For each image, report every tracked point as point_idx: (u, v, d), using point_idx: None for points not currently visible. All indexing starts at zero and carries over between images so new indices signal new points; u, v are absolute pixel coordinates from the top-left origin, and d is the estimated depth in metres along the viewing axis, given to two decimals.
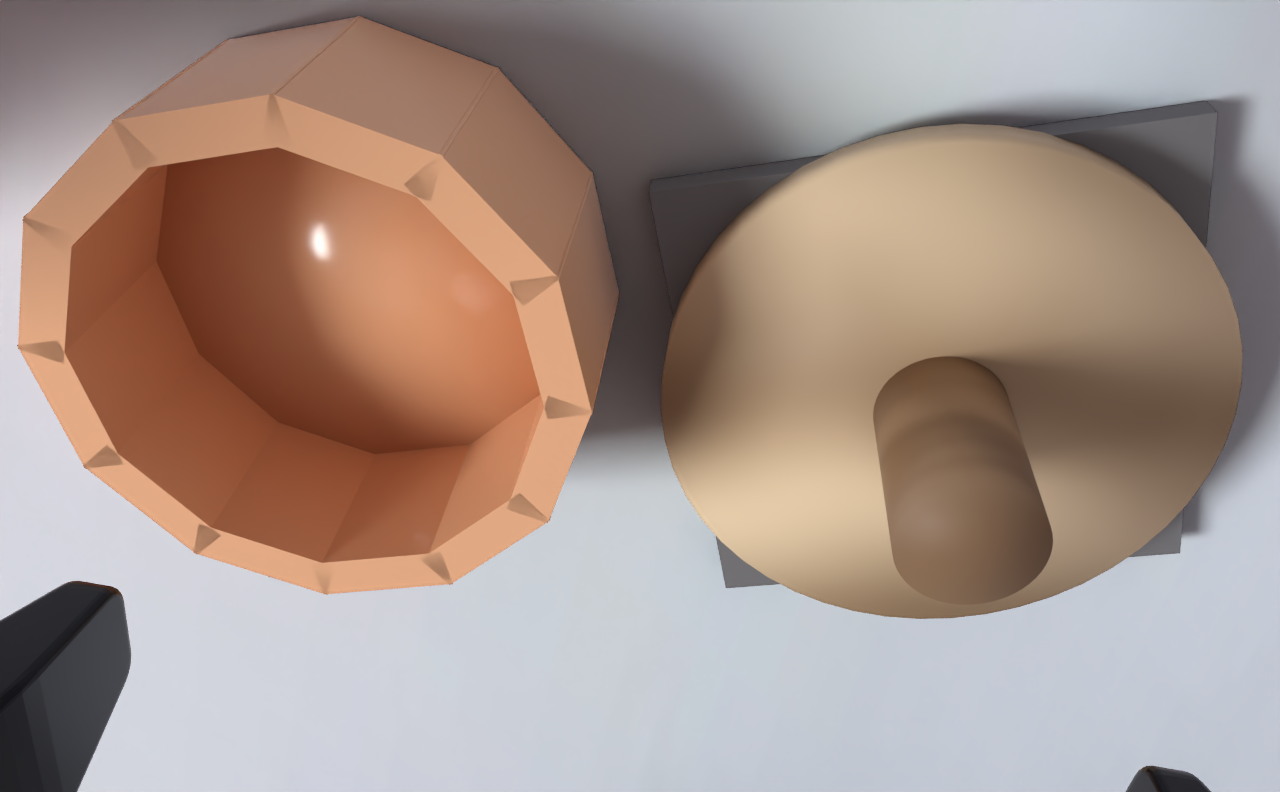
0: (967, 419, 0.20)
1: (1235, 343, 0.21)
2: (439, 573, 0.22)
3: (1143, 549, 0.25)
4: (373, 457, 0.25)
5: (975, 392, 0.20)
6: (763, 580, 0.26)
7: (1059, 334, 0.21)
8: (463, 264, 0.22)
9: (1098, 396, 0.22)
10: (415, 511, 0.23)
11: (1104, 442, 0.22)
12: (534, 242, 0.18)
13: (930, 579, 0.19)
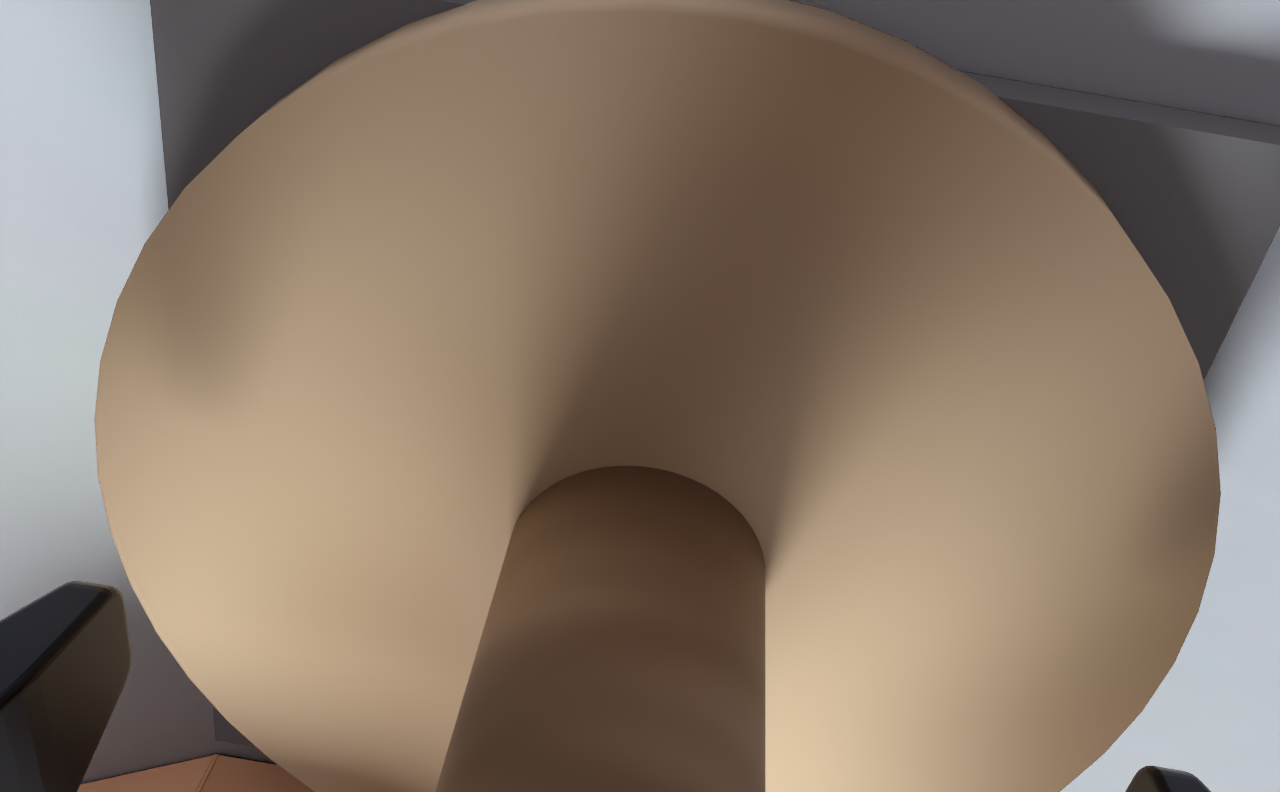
0: (465, 692, 0.09)
1: (618, 24, 0.09)
2: None
3: (1253, 231, 0.10)
4: None
5: (501, 591, 0.10)
6: None
7: (507, 358, 0.10)
8: None
9: (680, 317, 0.10)
10: None
11: (810, 324, 0.10)
12: None
13: None
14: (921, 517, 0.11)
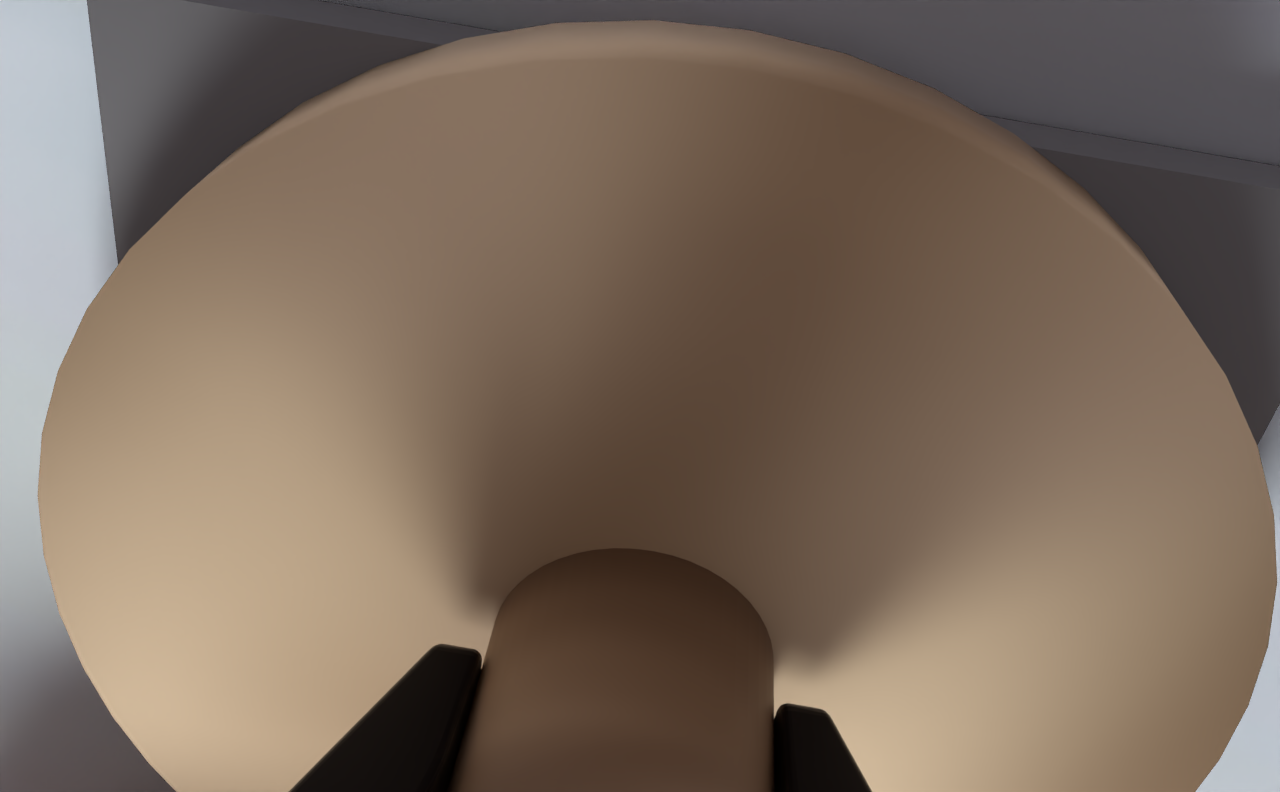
0: None
1: (613, 72, 0.08)
2: None
3: None
4: None
5: (482, 692, 0.09)
6: None
7: (489, 433, 0.09)
8: None
9: (681, 391, 0.09)
10: None
11: (824, 400, 0.09)
12: None
13: None
14: (946, 604, 0.10)
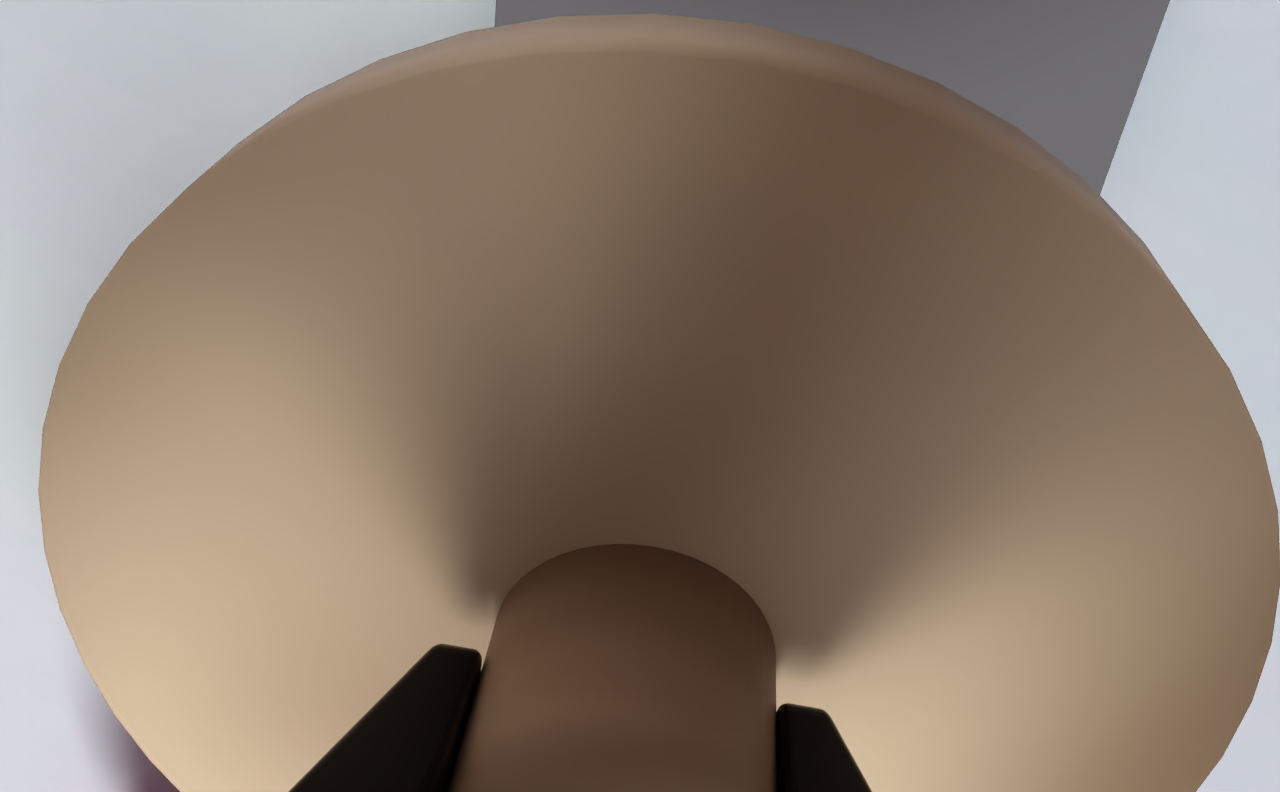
0: None
1: (614, 66, 0.08)
2: None
3: None
4: None
5: (483, 688, 0.09)
6: None
7: (491, 429, 0.09)
8: None
9: (683, 386, 0.09)
10: None
11: (827, 395, 0.09)
12: None
13: None
14: (948, 600, 0.10)
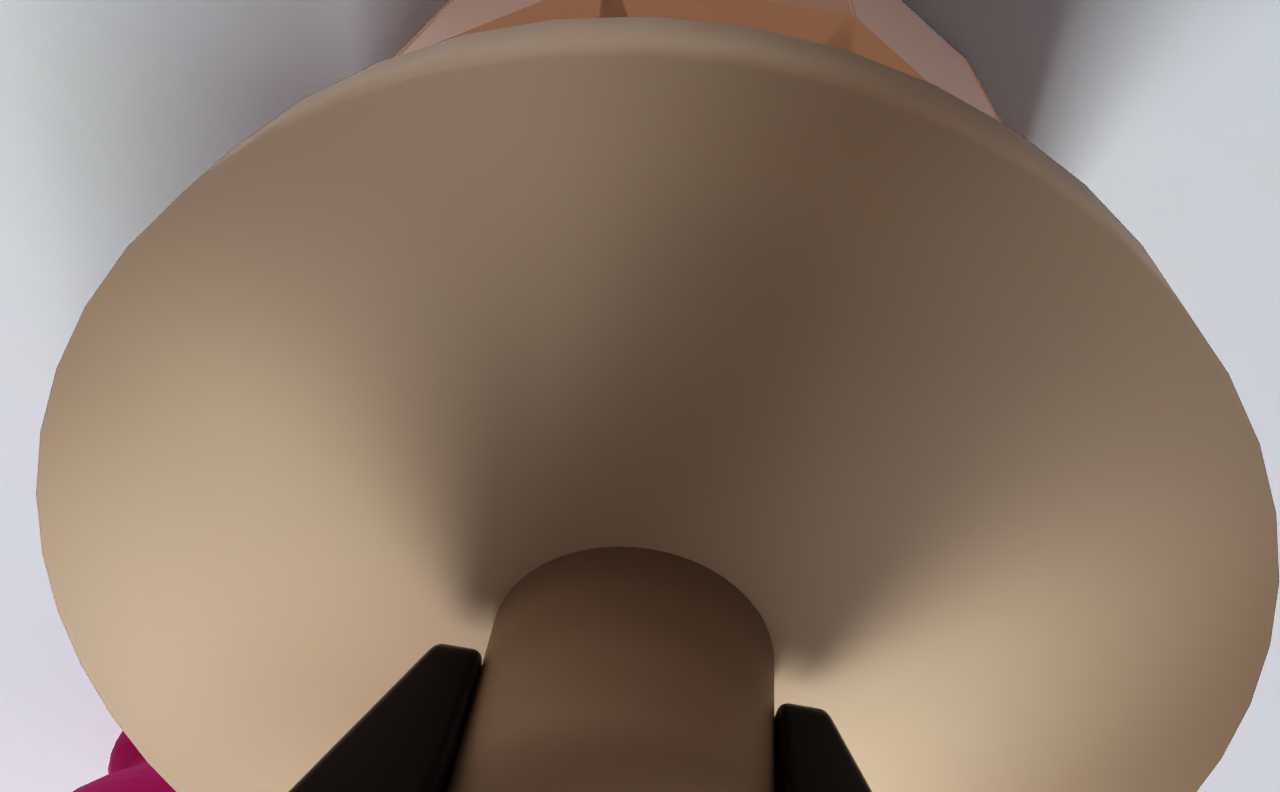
0: None
1: (612, 69, 0.08)
2: None
3: None
4: None
5: (481, 691, 0.09)
6: None
7: (489, 431, 0.09)
8: None
9: (681, 389, 0.09)
10: None
11: (825, 398, 0.09)
12: None
13: None
14: (947, 604, 0.10)
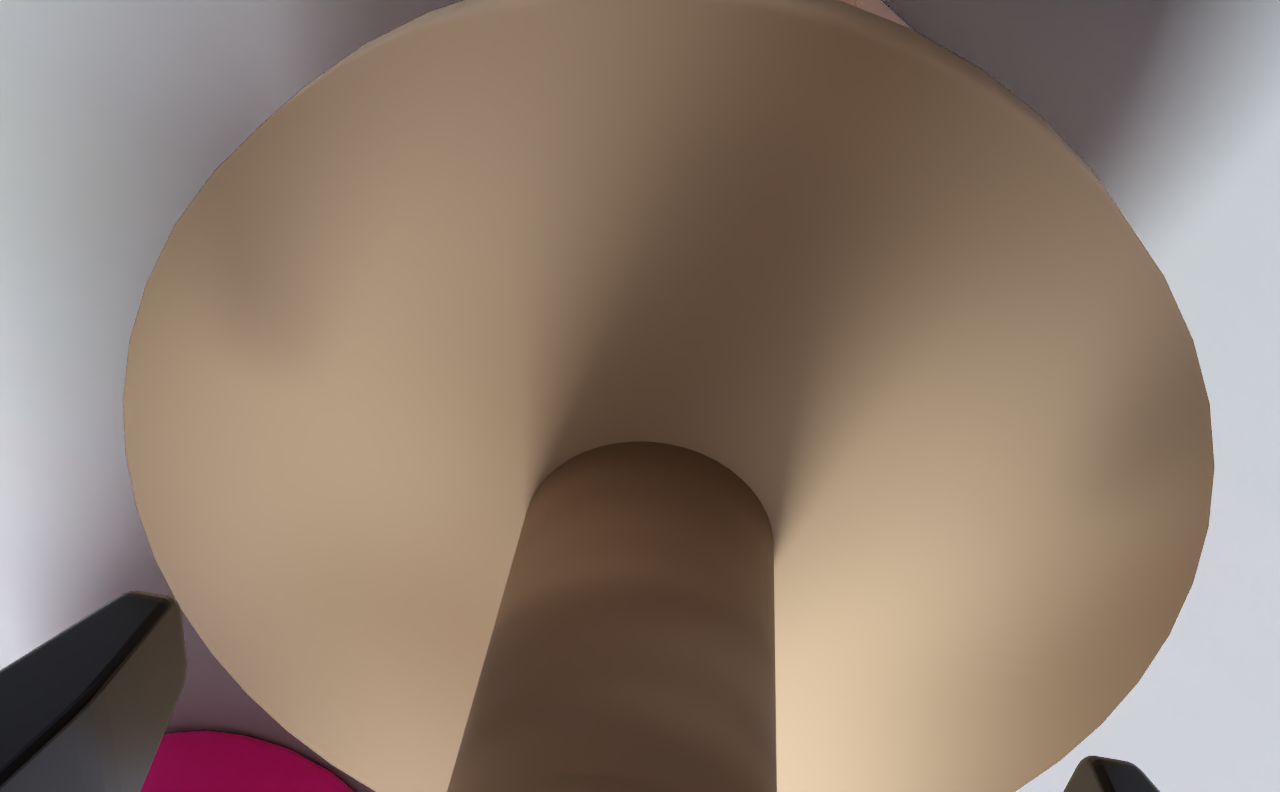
0: (486, 656, 0.10)
1: (637, 9, 0.09)
2: None
3: None
4: None
5: (519, 561, 0.10)
6: None
7: (525, 336, 0.11)
8: None
9: (693, 295, 0.10)
10: None
11: (818, 302, 0.10)
12: None
13: None
14: (925, 491, 0.11)
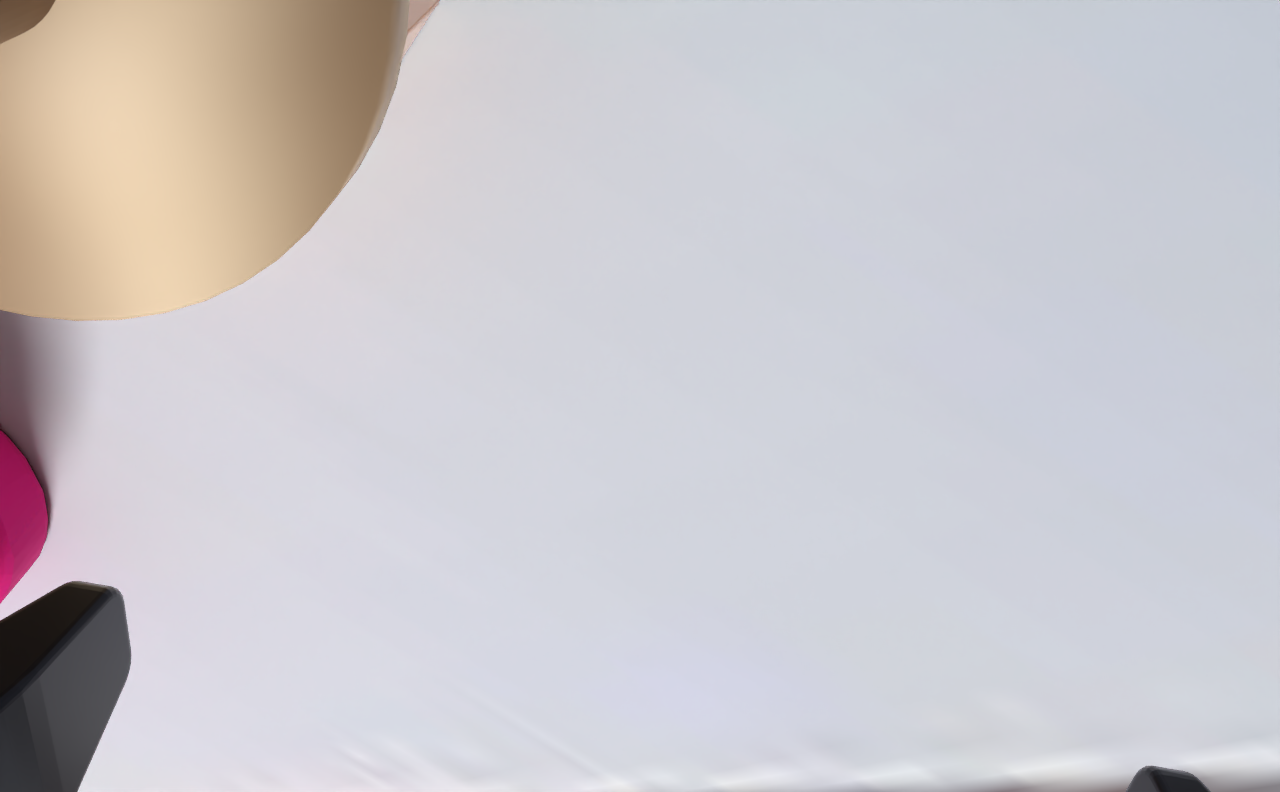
0: None
1: None
2: None
3: None
4: None
5: None
6: None
7: None
8: None
9: None
10: None
11: None
12: None
13: None
14: None
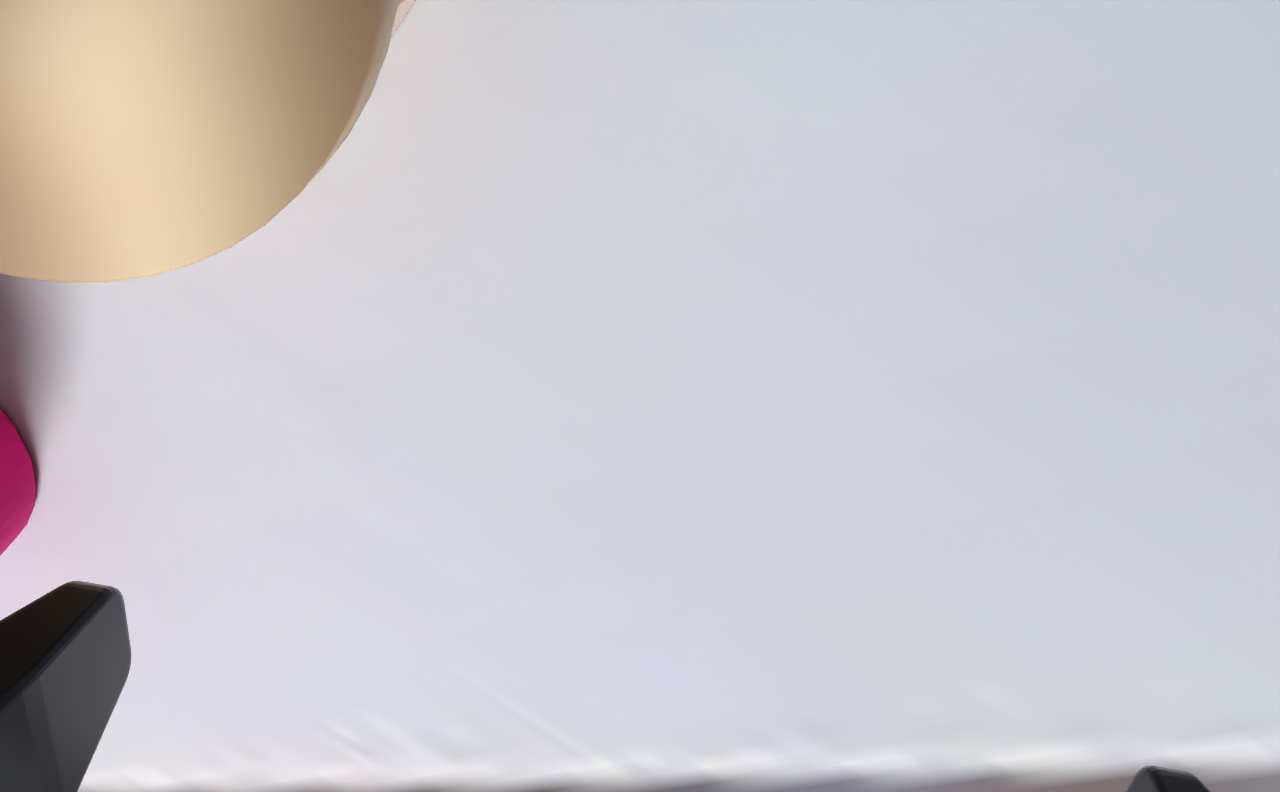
0: None
1: None
2: None
3: None
4: None
5: None
6: None
7: None
8: None
9: None
10: None
11: None
12: None
13: None
14: None
